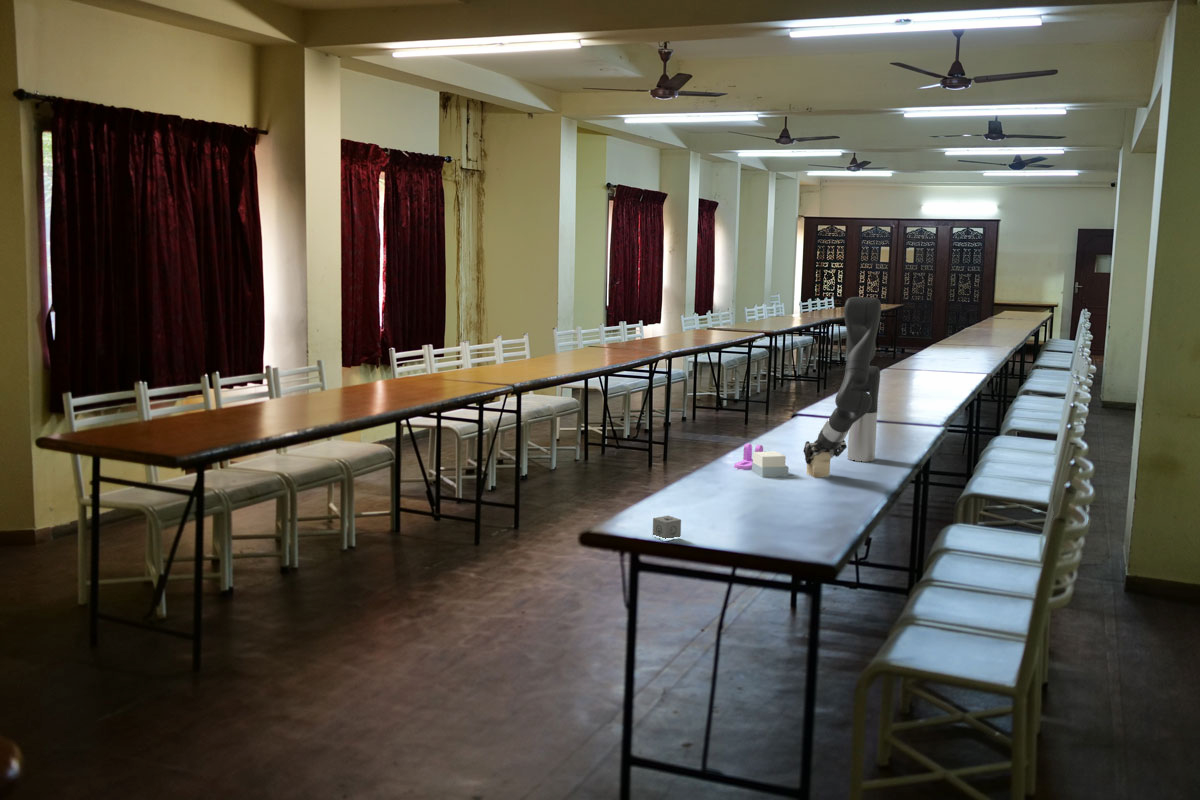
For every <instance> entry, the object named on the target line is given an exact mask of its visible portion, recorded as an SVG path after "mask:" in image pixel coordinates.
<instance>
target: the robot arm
mask: <svg viewBox="0 0 1200 800" xmlns="http://www.w3.org/2000/svg"><path fill="white" fill-rule="evenodd" d="M881 306H882V304H881V301H880V299H879V298H876V297H868V296H867V297H864V296H851V297H849V298H847V300H845V304H844V309H843V310H844V311H843V312H844V313H843V315H844V323H845V328H846V351H847V352H846V353H847V357H846V363H845V368H844V377H843V381H842V383H841V384H840V385H841V386H840V388H839V390H838V392H837V393H836V396H835V399H834V400H835V405H836V407H835V409H833V411H832V413H831V414H830V416H829V417H828V419H827V420H826V422H824V425H823V427H822V428H821V430H820V432H819V433H818V436H817V438H816V440H814V442H810V441H808V440H807V441H805V442H804V443H805V444H804V448H803V450H802V451H803V454H804V456H805V457H804V460H805V463H806V465H807V464H810V463H811V461H812V459H813V457H814V456H818V455H819V454H821V453H822V452H829V455H830V460H831V459H832V458H834V457H839V456H840V455H841V454H842V453H843V452H844V451H845V450H846V449H847V459H848V460H850V459H851V460H850V461H853V460H855V462H861V461H862V462H863V463H864V462H869V461H870V462H874V461H875V460H876V459H875V458H876V446H877V445H876V442H877V441H876V440H877V426H878V425H877V424H878V423H877V422H878V408H879V407H878V405H879V404H878V402H879V400H878V399H879V391H880V382H881V381H880V380H881V371H880V368H879V367H878V366H873V365H870V363H871V361H872V360H873V359H874V357H875V356H876V349H877V348H876V339H877V333H878V330H879V325H880V321H881V314H882V313H881V312H882V311H881V310H882V307H881ZM847 436H848V438H847V439H848V440H847V443H846V441H845V439H846V437H847ZM815 448H816V449H817V450H815ZM817 451H818V452H817ZM812 452H813V454H812Z"/></svg>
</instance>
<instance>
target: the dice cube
mask: <svg viewBox="0 0 1200 800" xmlns="http://www.w3.org/2000/svg"><path fill="white" fill-rule="evenodd" d="M681 532H682V520H681V519H680V518H676V517H674V516H671V515H664V516H658V517H653V518H652V536H653V535H656V536H659V537H662V538H665V539H666V538H674V537H680V536H681V535H682V534H681Z"/></svg>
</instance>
